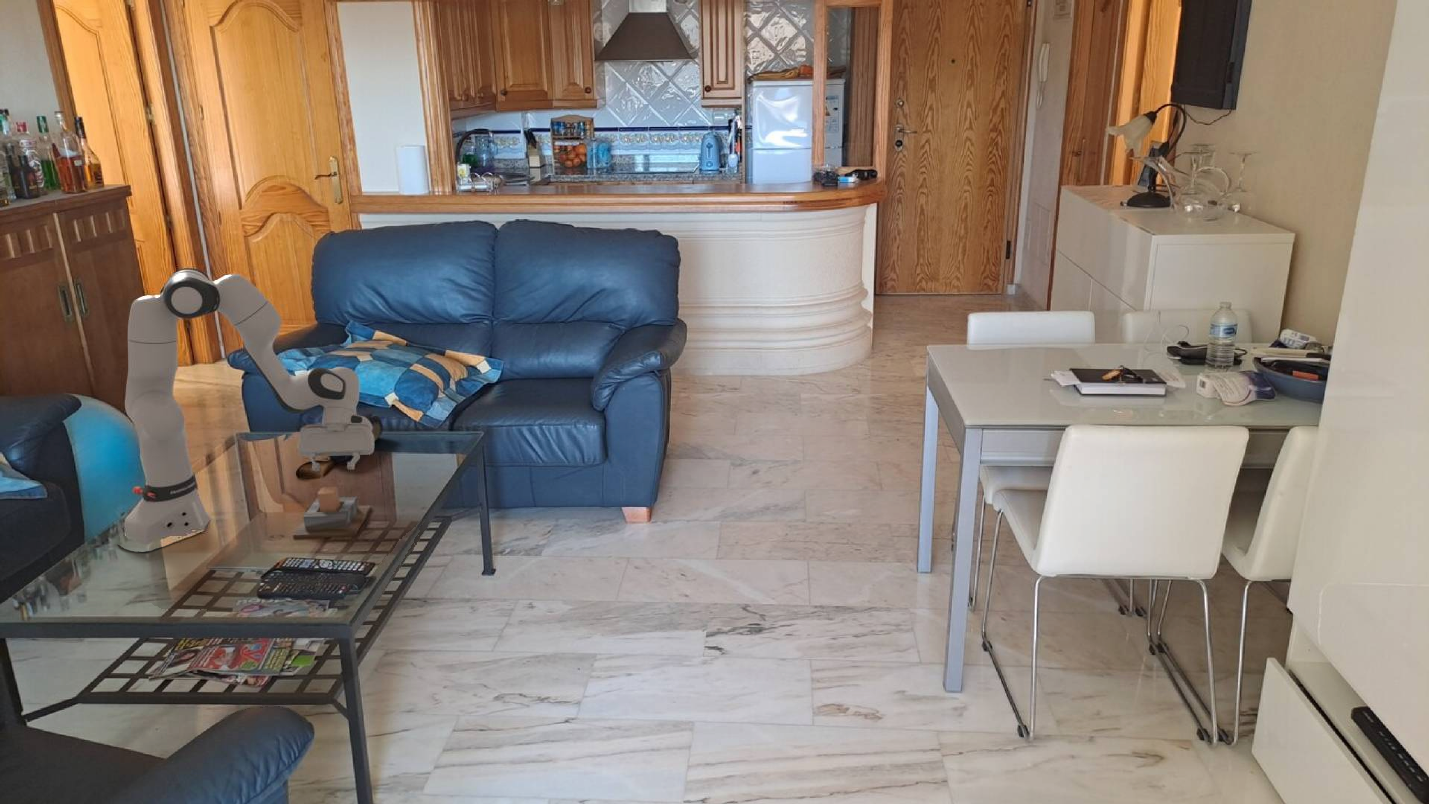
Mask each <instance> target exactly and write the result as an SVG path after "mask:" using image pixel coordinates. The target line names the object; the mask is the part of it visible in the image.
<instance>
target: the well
mask: <svg viewBox="0 0 1429 804" xmlns="http://www.w3.org/2000/svg"><path fill="white" fill-rule="evenodd" d="M339 500H340V506H341V508H340V510H339V511H336V512H321V511H320V506H319V500H318V497H317V498H316V499H315V500H314V502H313V503H312V504H311V506H310V507H309V508H308V510H307V511H306V513H305V514H304V515H303V516H302V517H303V521H302V522H301V523H300V524H299V526H298V528H297V529H296V530H295V532H294V533H293V534H292V537H293V539H311V538H312V539H314V538H338V537H339V538H341V537H355V536H357V533H358V531H359V529H360V528H361V526H362V525H363V523H364V521H366V518H367V517H368V514H369V513H370V511H371V510H372V506H371V505H359V501H358V496H352V497H351V496H350V497H349V496H348V497H339Z"/></svg>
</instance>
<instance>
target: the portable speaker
mask: <svg viewBox="0 0 1429 804" xmlns="http://www.w3.org/2000/svg"><path fill="white" fill-rule="evenodd" d="M357 415H359V416H363V417H366V418H367V419H368V420H369V421H370V423H371V424H372V426H373V429H372V433H373V435H374V442H375V441H377V440H378V439H379V437H381V436H382V433H383V431H384V430H383V429H384V428H383V427H384V426H383V422H382V420H381V418H380V417H379V416H378V415H377V414H375V413H374V412H370V411H364V412H360V413H357ZM329 457H330V458H331V459H332V460H333V461H335V462H336V464H341V465H342V464H343V465H344V464H347V463H348V462H351V460H352V459H353V457H354V456H353V455H340V456H329Z"/></svg>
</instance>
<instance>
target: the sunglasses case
mask: <svg viewBox="0 0 1429 804" xmlns="http://www.w3.org/2000/svg"><path fill="white" fill-rule="evenodd" d="M315 461H316V463H319V464H320V470H319V471H313V470H312V464H313V463H312V461H311V459H310V457H308V458H307V459H306V460H305V461H304V462H303V463H302V464H301V465H300V466H299V467H298V468H297V469H296V471H295V475H296V478H297V479H323V478H324V477H325V476H326V475H327V474H328V473H329V471H330V470H331V469H333V467H334V466H335V465H336V464H337V463H336V462H335V461H333V460H332V459H331V458H330V457H329V456H317V460H315ZM335 463H336V464H335Z"/></svg>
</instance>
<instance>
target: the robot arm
mask: <svg viewBox="0 0 1429 804" xmlns="http://www.w3.org/2000/svg"><path fill="white" fill-rule="evenodd" d="M169 276H170V277H169V278H168V279H167V281H166V282H165V284H164V285H163V286H162V288H161V290H160V291H159V294H157V295H155V294H154V295H144V296H140V297H139V298H136V299H135V300H134V301H133V302H132V303H131V306H130V310H129V316H128V322H127V323H128V324H127V355H128V356H127V358H128V361H127V362H128V365H127V366H128V371H127V378H126V386H125V398H124V408H125V412H126V415H127V416H128V417H129V419H130V420H131V421H132V423H133V424H134V425H133V426H135V429H136V433H137V437H138V438H137V439H138V444H139V452H140V453H139V458H140V461H141V465H142V470H143V474H144V478H145V483H144V484H145V485H144V488H143V487H140V486H137V485H136V486H134V487H133V489H132V493H133V494H135V495H138V496H142V498H141V499H140V501H139V502H138V503H137V505H136V506H134V508H133V509H132V511H131V512H130V513H129V514H128V515H127V516H126V517H125V519H124V534H125V536H126V537H127V538H128V539H130V540H132V541H134V542H138V543H142V544H149V543H151V542H156V541H159V540H161V539H165V538H167V537H169V536H182V537H183V536H187V535H188V534H191V533H196V532H198V531H202V530H205V531H206V526H207V525H208V524H209V523H210V521H211V518H210V516H209V515H208V513H207V511H206V509H205V507H204V505H203V502H202V500H201V498H200V495H199V493H198V492H199V491H198V490H199V489H198V487H199V486H198V483H197V478H196V474H195V472H194V471H193V469H192V465H191V459H190V456H189V451H188V450H189V449H188V443H187V430H186V421H185V414H184V411H183V408H182V406H181V405H180V404H179V403H178V402H177V401H176V400H175V397H174V386H175V385H174V384H175V378H176V373H177V372H178V368H179V365H178V363H179V362H178V359H179V357H178V323H179V320H180V319H186V320H190V319H197V318H201V317H203V316H206V315H209V314H211V313H215V312H218V313H220V314H222V316H223V317H225V319H226V320H228V322H229V323H230V324H231V326H233V328H234V329H235V330H236V331H237V333H238V334H239V336H240V338H241V339H242V345H243V349H244V351H245V353H246V355H247V356H248V357H249V359H250V360H251V362H252V363H253V365H254V367H255V369H257V370H258V372H259V373H260V375H261V376H262V378H264V380H265V382H266V383H267V384H268V386H269V388H270V389H271V390H272V392H273V394H274V397H275V399H276V401H277V403H278V404H279V406H280V407H281V408H282V409H283V410H285V411H286V412H288V413H291V414H294V415H295V414H296V415H297V414H298V415H299V414H302V413H303V412H305V411H307V410H309V409H311V408H313V407H315V406H318V405H320V406H322V407H323V412H322V421H321V423H308V424H306V425H304V426H302V427H301V428H300V430H299V438H298V443H297V446H296V450H297V453H298V454H299V455H300V456H301V457H308V458H310V459H311V461H312V463H313V464H312V470H313V471H319V470H320V464H319V463H316V461H315V460H317V456H340V455H353V456H354V457H353V459H352V460H351V462H348V463H346V464H347V466H346V469H348V471H350V470H355V466H356V464H357V462H358V461H359V460H360V458H361V456H364V455H366V456H367V455H368V456H369V455H372V454H373V453H374V452H375V441H374V435H373V433H372V429H373V426H372V424H371V423H370V421H369V420H368V419H367V418H366V417H363V416H359V415H358V413H357V405H358V403H359V401H360V400H359V399H360V380H359V379H360V378H359V376H358V374H357V373H356V371H354V369H351V368H349V367H346V366H335V367H334V368H329V369H328V368H325V367H322V366H321V367H320V366H318V367H314V368H311V369H309V370H306V371H304V372H302V373H299V374H298V375H293V374H290V373H289V372H288V370H287V369H286V368H285V366H284V365H283V363H282V362H281V360H280V359H279V357H278V356H277V355H276V353H275V352H274V351H275V350H274V349H273V345H274V341H275V340H276V338H277V337H278V336H279V333H280V331H281V326H282V318H281V315H280V314H279V311H278V310H277V309H276V308H275V306H274V305H273V304H272V303H271V302H270V301H269V299H268V298H267V297H266V296H265V295H264V294H263V293H262V292H261V290H259V289H258V288H257V287H256V286H255V285H254V284H253V283H252V282H250V280H248V279H247V278H245V277H244V276H243V275H240V274H238V273H229V274H226V275H223V276H221V277H220V278H218V279H216V280H210V277H208V275H207V274H206V273H204V272H203V271H201V270H199V269H196V268H193V267H192V268H191V267H185V268H180V269H178V270H177V271H175V272H173V273H172V274H171V275H169ZM208 522H209V523H208ZM206 524H207V525H206ZM205 525H206V526H205ZM192 530H196V531H194V532H193V531H192ZM187 533H188V534H187ZM178 538H180V537H178Z"/></svg>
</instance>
